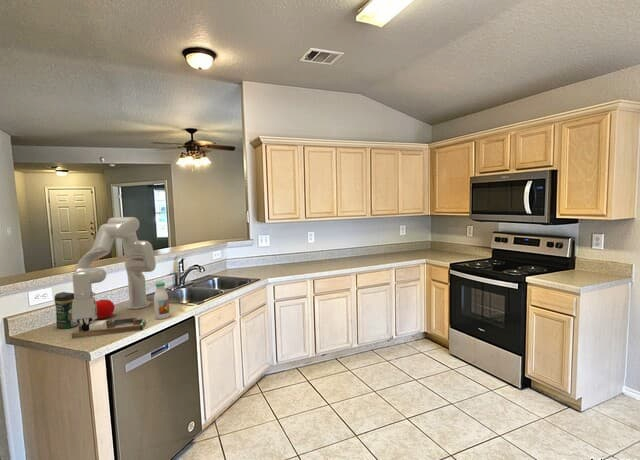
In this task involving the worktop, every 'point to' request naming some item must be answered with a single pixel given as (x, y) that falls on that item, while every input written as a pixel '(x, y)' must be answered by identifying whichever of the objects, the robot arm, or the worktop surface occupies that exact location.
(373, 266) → the worktop surface
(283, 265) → the worktop surface
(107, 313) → the tomato
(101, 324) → the block
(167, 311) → the milk bottle
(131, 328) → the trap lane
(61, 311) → the coffee jar
